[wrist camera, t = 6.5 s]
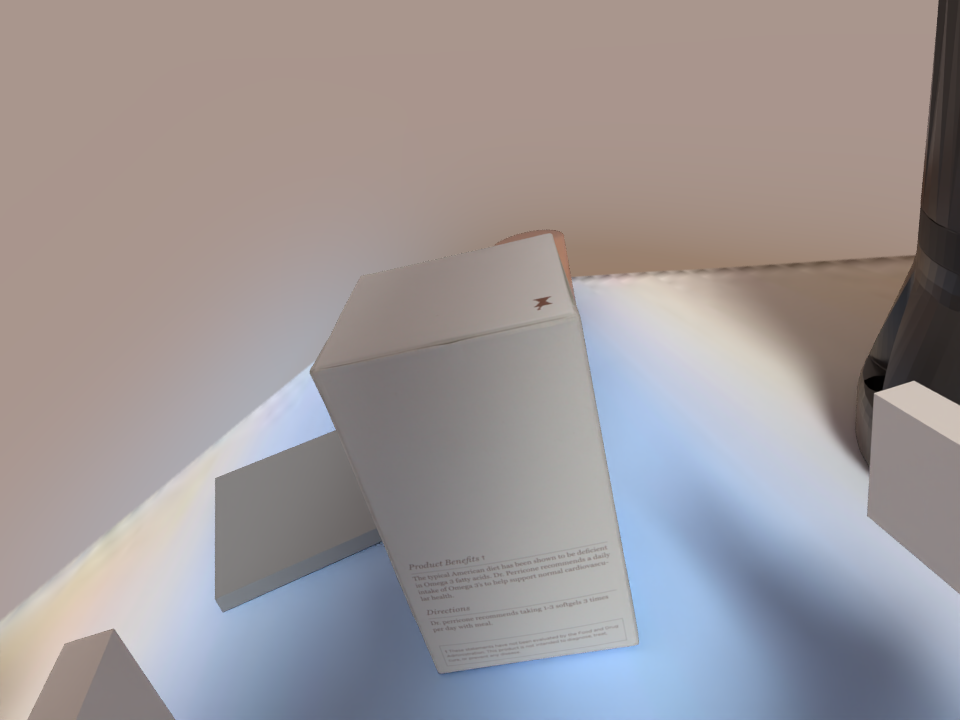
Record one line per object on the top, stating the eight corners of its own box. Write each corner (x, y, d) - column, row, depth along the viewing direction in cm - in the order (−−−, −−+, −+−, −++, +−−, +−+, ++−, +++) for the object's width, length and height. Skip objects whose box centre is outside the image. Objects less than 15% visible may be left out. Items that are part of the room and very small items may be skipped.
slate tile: (387, 422, 39) (383, 411, 38) (437, 516, 30) (432, 503, 30) (221, 489, 36) (215, 478, 36) (222, 612, 28) (215, 599, 27)
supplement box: (610, 504, 28) (560, 226, 22) (643, 652, 21) (583, 311, 16) (446, 530, 29) (358, 270, 23) (429, 680, 22) (301, 368, 17)
